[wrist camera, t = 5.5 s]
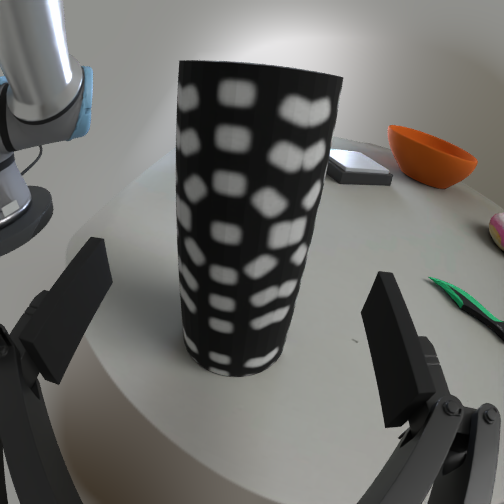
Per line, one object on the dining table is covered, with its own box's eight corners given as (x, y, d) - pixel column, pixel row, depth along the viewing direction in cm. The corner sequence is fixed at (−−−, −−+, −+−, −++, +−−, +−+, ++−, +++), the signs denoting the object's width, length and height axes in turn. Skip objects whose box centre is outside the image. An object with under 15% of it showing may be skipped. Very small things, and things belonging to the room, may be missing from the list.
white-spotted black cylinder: (167, 358, 23) (146, 62, 11) (204, 291, 29) (213, 60, 18) (273, 388, 21) (346, 78, 10) (291, 312, 28) (340, 76, 17)
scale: (308, 158, 67) (310, 145, 65) (355, 161, 71) (357, 149, 69) (339, 183, 56) (343, 168, 54) (390, 185, 60) (394, 171, 58)
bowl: (465, 184, 74) (474, 153, 68) (467, 210, 56) (481, 169, 51) (390, 153, 85) (397, 122, 79) (369, 168, 67) (378, 128, 62)
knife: (562, 358, 21) (559, 382, 19) (558, 362, 22) (555, 386, 19) (439, 263, 36) (425, 276, 33) (437, 268, 36) (423, 281, 33)
